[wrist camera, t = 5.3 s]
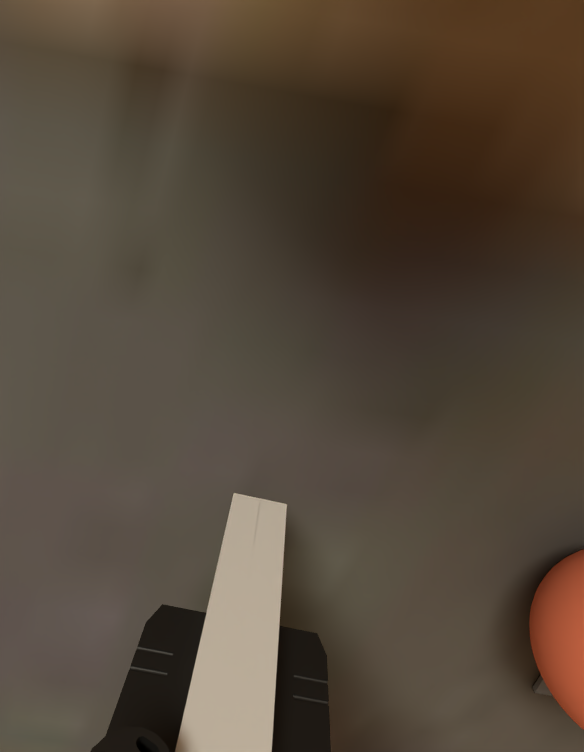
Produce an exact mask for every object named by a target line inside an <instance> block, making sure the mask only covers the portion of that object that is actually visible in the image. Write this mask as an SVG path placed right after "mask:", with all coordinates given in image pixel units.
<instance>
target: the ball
mask: <svg viewBox="0 0 584 752" xmlns="http://www.w3.org/2000/svg"><path fill="white" fill-rule="evenodd" d="M529 629H530V641H531V647H532V651H533V655H534V658H535V661H536V664H537V667H538V669H539V671H540V674H541V676H542V678H543V680H544V682H545V684H546V686H547V687H548V689H549V690H550V692H551V694H552V695H553V696H554V698H555V699H556V701H557V702H558V703H559V705H560V706H561V707H562V708H563V709H564V711H565V712H566V713H567V714H568V715H569V716H570V717H571V718H572V719H573V720H574V721H575V722H576V723H577V724H578V725H579V726H580V727H581V728H582V729H583V730H584V549H583V550H580V551H578V552H576V553H574V554H572V555H569V556H567V557H565V558H564V559H563V560H561V561H560V562H559V563H557V564H556V565H555V566H554V567H553V568H552V569H551V570H550V571H549V572H548V573H547V574H546V576H545V577H544V578H543V580H542V581H541V583H540V584H539V586H538V588H537V590H536V592H535V595H534V599H533V602H532V605H531V610H530V619H529Z"/></svg>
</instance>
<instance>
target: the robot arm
mask: <svg viewBox="0 0 584 752" xmlns="http://www.w3.org/2000/svg"><path fill="white" fill-rule="evenodd" d="M286 508H287V504H283V503H279V502H274V501H269V500H264V499H260V498H255V497H250V496H246V495H241V494H236V493H234V494H233V499H232V503H231V507H230V512H229V516H228V520H227V525H226V529H225V533H224V538H223V542H222V546H221V551H220V555H219V559H218V564H217V568H216V572H215V577H214V581H213V586H212V590H211V594H210V599H209V603H208V608H207V612H206V613H204V612H198V611H193V610H188V609H183V608H178V607H173V606H168V605H163V604H162V605H161V607H160V608H159V609H158V610H157V611H156V612H155V613H154V614H153V615H152V616H151V618H150V619H149V620H148V621H147V622H146V624H145V627H144V630H143V633H142V635H141V638H140V641H139V644H138V647H137V650H136V652H135V655H134V658H133V661H132V663H131V667H130V670H129V672H128V675H127V678H126V680H125V683H124V686H123V689H122V692H121V694H120V697H119V700H118V703H117V706H116V708H115V711H114V714H113V717H112V720H111V723H110V725H109V728H108V731H107V734H106V736H105V737H104V738H103V739H102V740H101V741H100V742H99V743H98V744H97V745H96V746H94V747H93V748H92V750H91V752H331V749H330V724H329V706H328V701H329V699H328V685H327V681H328V674H327V655H326V653H325V651H324V648H323V646H322V644H321V641H320V639H319V637H318V634H317V633H312V632H307V631H302V630H297V629H292V628H287V627H282V626H279V623H280V606H281V590H282V574H283V557H284V541H285V525H286Z"/></svg>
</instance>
